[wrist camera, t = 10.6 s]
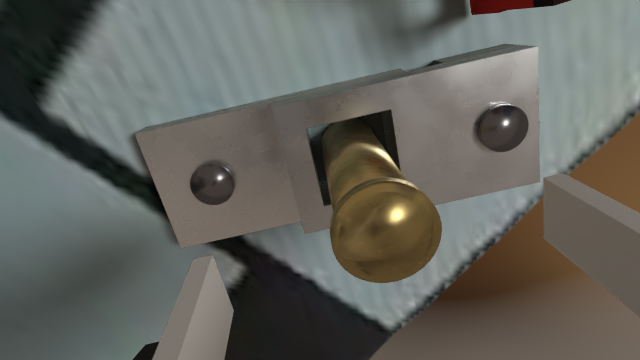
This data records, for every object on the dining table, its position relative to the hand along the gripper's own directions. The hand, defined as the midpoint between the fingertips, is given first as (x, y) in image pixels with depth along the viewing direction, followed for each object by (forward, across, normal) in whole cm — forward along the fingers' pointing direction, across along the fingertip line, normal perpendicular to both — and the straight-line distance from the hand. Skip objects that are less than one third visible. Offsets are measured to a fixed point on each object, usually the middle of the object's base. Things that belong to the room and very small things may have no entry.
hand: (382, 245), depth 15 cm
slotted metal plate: (+15, +1, 0) cm, 15 cm away
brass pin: (+15, +1, 0) cm, 15 cm away
